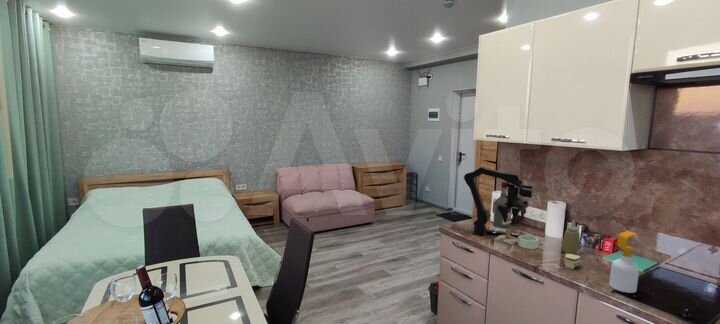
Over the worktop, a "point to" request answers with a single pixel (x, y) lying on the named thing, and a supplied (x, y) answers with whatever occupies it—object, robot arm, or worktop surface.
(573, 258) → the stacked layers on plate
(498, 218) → the liquor
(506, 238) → the lid
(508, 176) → the robot arm
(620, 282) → the soap bottle
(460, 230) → the worktop surface
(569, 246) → the squeeze bottle
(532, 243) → the bowl
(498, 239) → the mat
